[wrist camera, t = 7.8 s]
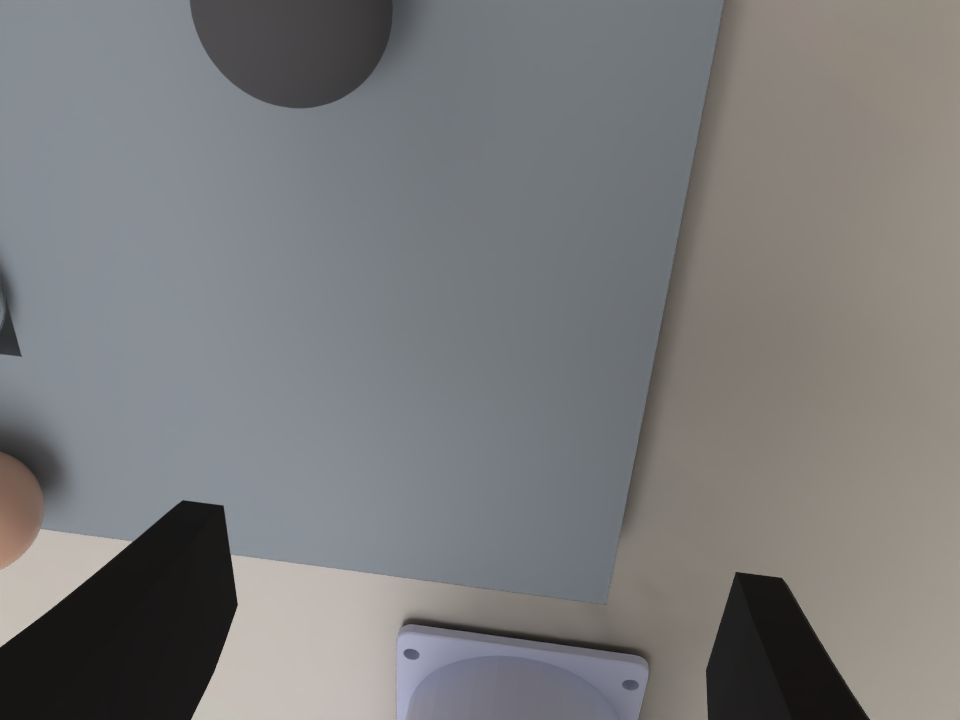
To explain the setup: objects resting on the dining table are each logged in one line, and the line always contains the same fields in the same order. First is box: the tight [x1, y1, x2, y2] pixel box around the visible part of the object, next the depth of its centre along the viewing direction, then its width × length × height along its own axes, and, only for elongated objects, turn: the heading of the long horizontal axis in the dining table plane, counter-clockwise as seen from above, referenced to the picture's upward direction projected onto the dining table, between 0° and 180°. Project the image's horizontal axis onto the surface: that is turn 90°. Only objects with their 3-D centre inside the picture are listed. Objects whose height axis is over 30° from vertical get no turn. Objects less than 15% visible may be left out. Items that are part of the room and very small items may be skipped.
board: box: [0, 0, 724, 605], centre depth 19 cm, size 16×22×4 cm
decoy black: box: [190, 0, 393, 109], centre depth 14 cm, size 3×3×3 cm
